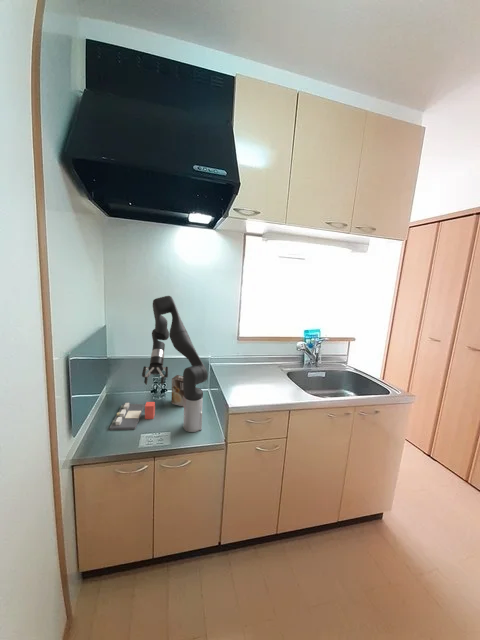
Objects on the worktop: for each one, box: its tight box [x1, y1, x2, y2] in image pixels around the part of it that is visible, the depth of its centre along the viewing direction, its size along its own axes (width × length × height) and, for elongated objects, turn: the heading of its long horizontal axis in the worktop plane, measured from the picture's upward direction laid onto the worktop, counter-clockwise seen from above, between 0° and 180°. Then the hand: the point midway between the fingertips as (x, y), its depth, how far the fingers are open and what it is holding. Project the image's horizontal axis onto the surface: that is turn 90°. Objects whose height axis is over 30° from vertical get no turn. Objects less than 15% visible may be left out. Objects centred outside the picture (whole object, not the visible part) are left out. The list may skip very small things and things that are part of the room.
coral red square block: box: [144, 401, 156, 420], centre depth 141 cm, size 4×4×8 cm
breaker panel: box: [109, 402, 146, 431], centre depth 140 cm, size 12×22×3 cm, turn 8°
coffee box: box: [171, 374, 184, 408], centre depth 156 cm, size 9×6×16 cm
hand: (153, 384), depth 150 cm, fingers open, 8 cm apart
